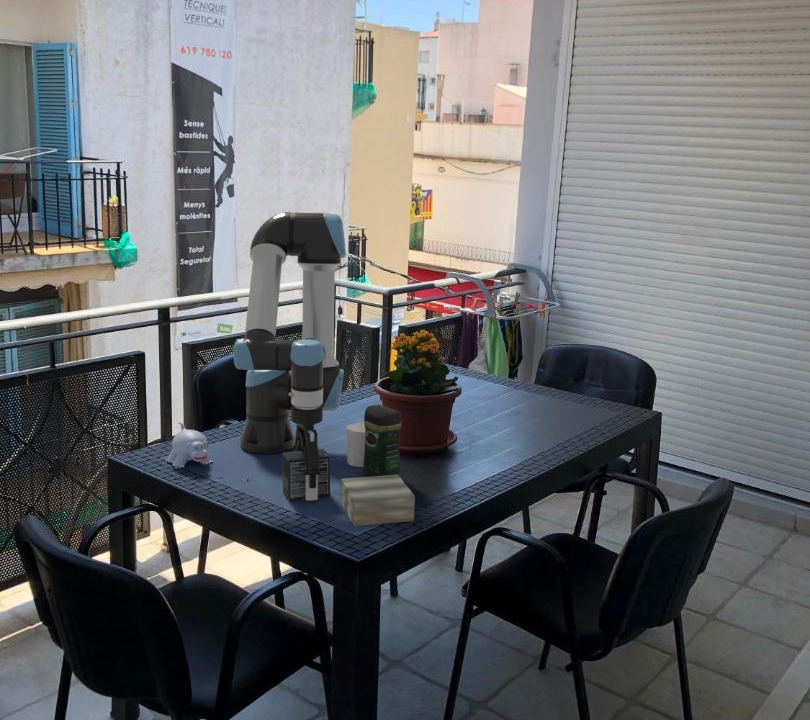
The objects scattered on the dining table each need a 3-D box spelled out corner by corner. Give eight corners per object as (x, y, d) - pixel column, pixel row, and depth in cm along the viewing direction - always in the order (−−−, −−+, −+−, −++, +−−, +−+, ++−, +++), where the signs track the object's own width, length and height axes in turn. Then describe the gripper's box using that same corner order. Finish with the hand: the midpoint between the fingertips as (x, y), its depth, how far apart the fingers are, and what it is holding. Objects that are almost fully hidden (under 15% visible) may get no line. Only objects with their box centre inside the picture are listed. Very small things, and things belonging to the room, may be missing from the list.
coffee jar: (405, 478, 238) (407, 409, 234) (381, 485, 233) (382, 414, 229) (381, 468, 245) (383, 400, 241) (357, 474, 240) (359, 405, 236)
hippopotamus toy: (181, 476, 235) (180, 441, 233) (162, 459, 247) (160, 425, 245) (222, 469, 241) (221, 434, 238) (200, 452, 253) (200, 419, 251)
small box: (323, 487, 231) (323, 447, 228) (331, 496, 225) (331, 455, 222) (281, 491, 227) (281, 451, 224) (288, 501, 221) (288, 460, 218)
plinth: (340, 502, 221) (341, 478, 220) (397, 497, 225) (397, 474, 224) (354, 526, 208) (354, 500, 207) (413, 520, 212) (414, 496, 211)
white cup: (378, 459, 251) (379, 424, 249) (369, 469, 244) (370, 433, 241) (350, 456, 253) (351, 421, 251) (341, 465, 246) (341, 429, 243)
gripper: (282, 392, 231) (282, 472, 236) (300, 421, 208) (300, 510, 213) (312, 390, 233) (312, 470, 238) (333, 419, 210) (332, 507, 215)
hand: (306, 489), depth 225 cm, fingers open, 13 cm apart
